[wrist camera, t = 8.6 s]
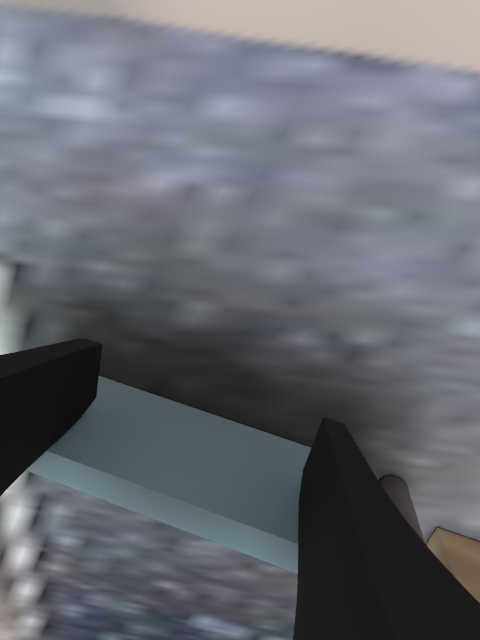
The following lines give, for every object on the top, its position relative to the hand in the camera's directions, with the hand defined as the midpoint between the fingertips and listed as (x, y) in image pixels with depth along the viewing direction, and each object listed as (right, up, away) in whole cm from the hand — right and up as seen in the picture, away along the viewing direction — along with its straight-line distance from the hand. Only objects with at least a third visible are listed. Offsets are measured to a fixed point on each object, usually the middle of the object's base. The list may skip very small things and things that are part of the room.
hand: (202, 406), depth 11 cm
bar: (0, -1, +2) cm, 3 cm away
